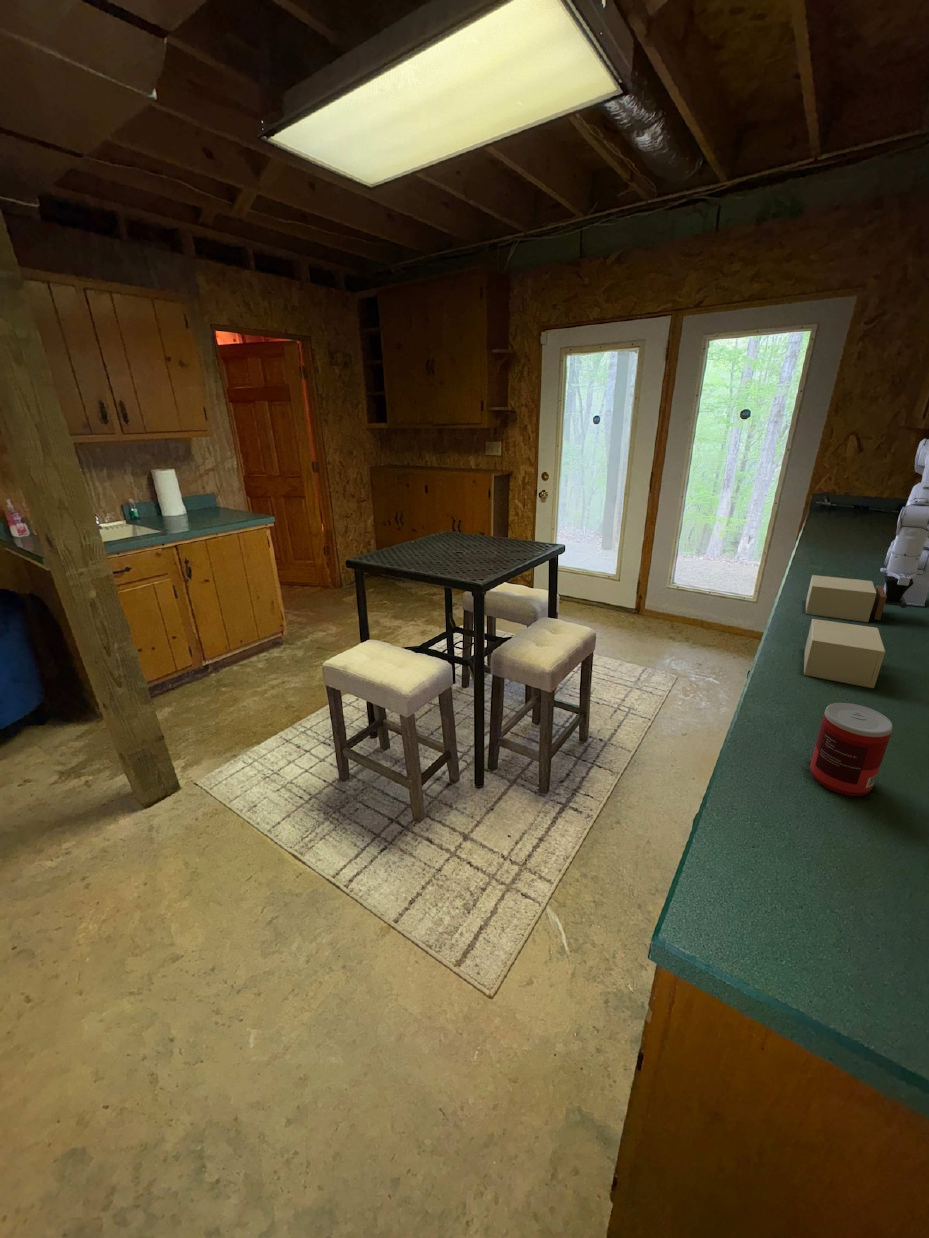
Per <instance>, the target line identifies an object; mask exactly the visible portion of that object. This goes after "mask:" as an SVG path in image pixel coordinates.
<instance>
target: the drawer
mask: <svg viewBox="0 0 929 1238" xmlns="http://www.w3.org/2000/svg"><path fill="white" fill-rule="evenodd" d="M875 590H876V597H875V600H874V604H873V607H872V611H871V613H872V616H873V619H874V620H878V621H879V620H880V621H881V618H882V615H883V611H884V609H885V605H887V604H889V606H898V607H900V608H901V609H905V608H908V605H907V603H906V601H905V599H904V597H902V598H901V599H900V601H899V602H898V603H895V602H887V601H886V598H887V596H886V594H885V592H884V586H883V585H876V587H875Z"/></svg>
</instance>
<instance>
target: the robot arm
mask: <svg viewBox="0 0 929 1238" xmlns="http://www.w3.org/2000/svg"><path fill="white" fill-rule="evenodd" d="M914 472H915V473H918V474H919V475H921V476H922V478H921V482H918V483H917V484H915V485H914V486H913V487H912V489H911V492H910V494H909V496H908V500H907V502H906V504H905V506H902V508H901V510H900V513H899V515H898V518H897V525H896V526H897V527H896V531H895V539H893V540H892V541H891V543H890V546H889V548H888V550H887V553H886V556H885V559H884V564H883V565H884V566H885V567H881V568H880V572H881V573H886V575H883V579H884V585H883V589H884V592H885V594H886V596H887V598H886V601H887V602H895V603H898V602H899V601H900V599H901V598H902V597H904V599H905V601H906V603H907V606H915V607H925V606H926V605H925V604H926V601H927V598H928V594H929V536H928V535H929V438H928V439H927V438H923V439H922V440H921V441H920V442H919V444H918V447H917V450H916V454H915V458H914ZM886 605H889V604H886ZM889 606H890V605H889Z"/></svg>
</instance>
